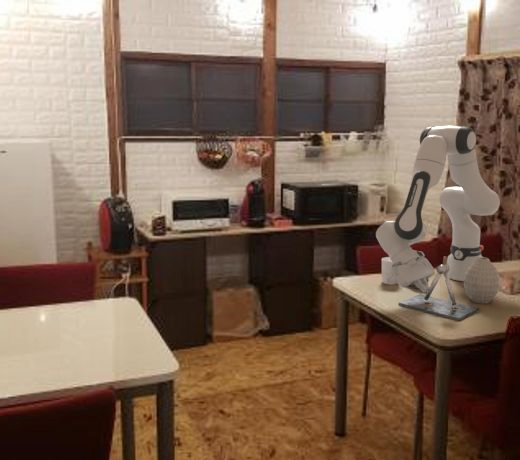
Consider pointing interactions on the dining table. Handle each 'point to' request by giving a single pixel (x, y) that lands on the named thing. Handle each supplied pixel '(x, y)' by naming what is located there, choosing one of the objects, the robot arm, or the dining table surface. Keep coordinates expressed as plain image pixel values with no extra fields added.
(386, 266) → the white cup
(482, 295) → the vase
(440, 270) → the leg
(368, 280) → the dining table surface
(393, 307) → the dining table surface
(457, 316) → the blue and grey frame
